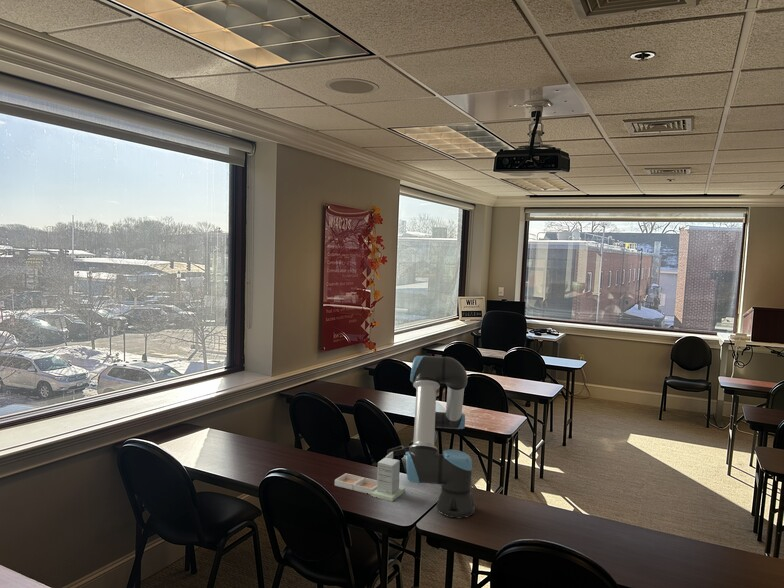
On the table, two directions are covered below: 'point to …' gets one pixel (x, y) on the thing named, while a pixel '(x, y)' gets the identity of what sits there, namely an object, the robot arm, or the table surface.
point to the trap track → (365, 486)
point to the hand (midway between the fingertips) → (400, 462)
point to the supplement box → (388, 475)
